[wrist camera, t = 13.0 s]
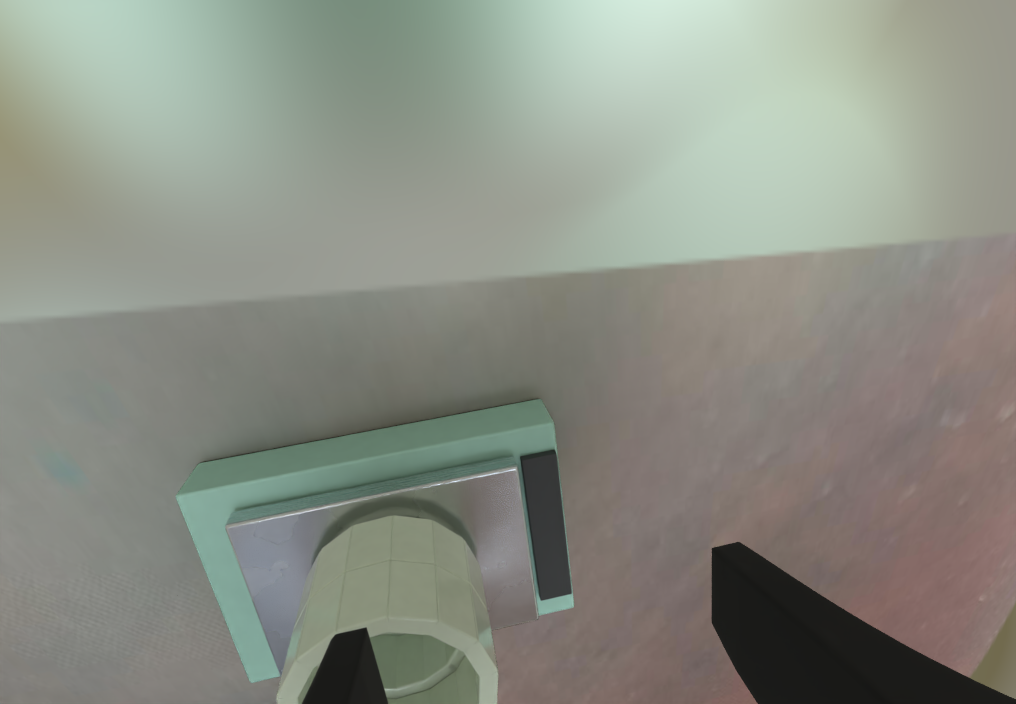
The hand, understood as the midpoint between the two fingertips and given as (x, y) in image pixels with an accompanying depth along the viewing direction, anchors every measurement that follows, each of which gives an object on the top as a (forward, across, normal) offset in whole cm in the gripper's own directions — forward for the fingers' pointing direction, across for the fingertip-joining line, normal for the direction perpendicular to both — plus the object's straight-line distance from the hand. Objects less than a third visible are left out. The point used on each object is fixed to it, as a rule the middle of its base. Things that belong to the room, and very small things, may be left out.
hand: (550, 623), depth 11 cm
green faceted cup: (+6, +4, +4) cm, 8 cm away
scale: (+9, +4, +4) cm, 11 cm away
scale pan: (+7, +4, +3) cm, 9 cm away
